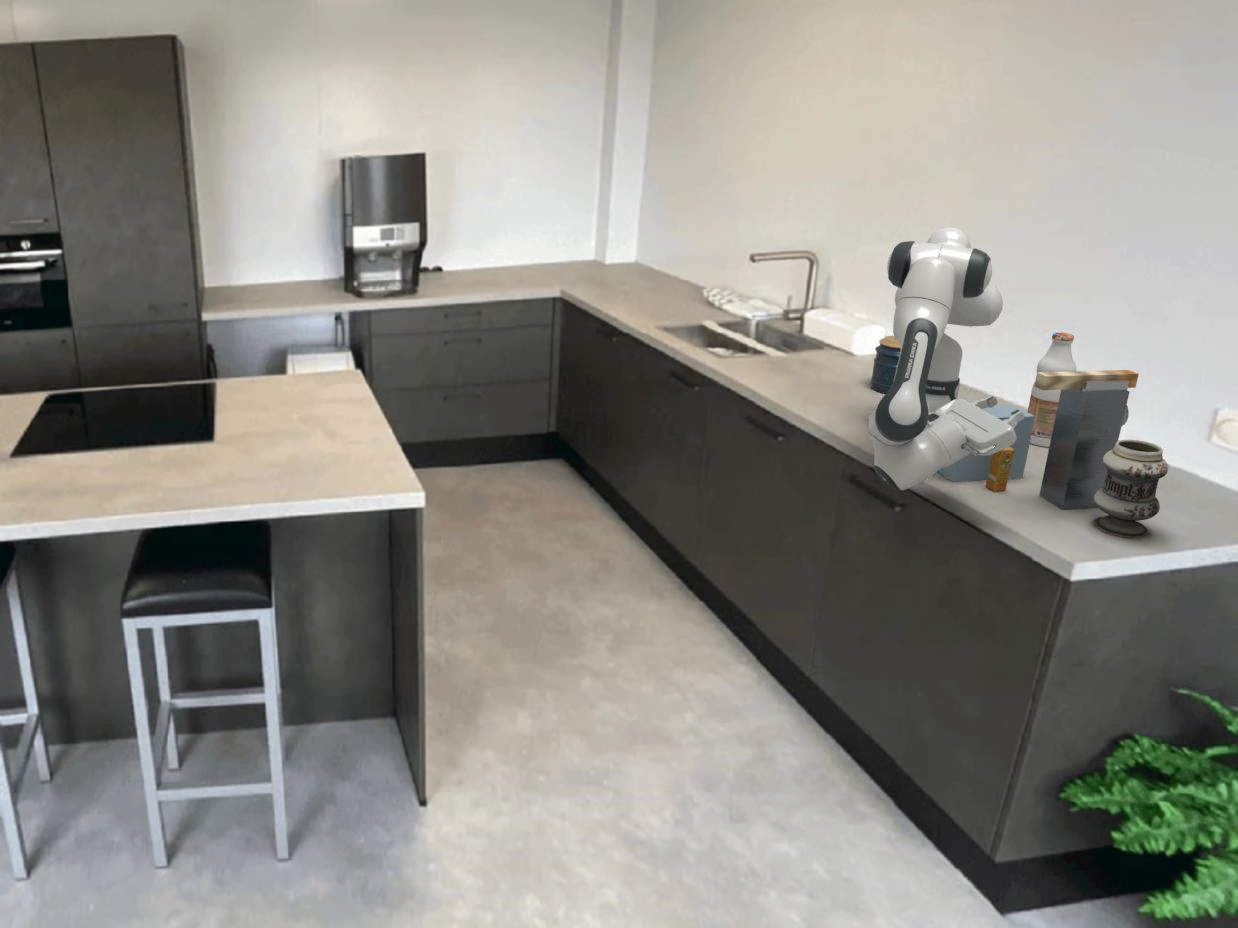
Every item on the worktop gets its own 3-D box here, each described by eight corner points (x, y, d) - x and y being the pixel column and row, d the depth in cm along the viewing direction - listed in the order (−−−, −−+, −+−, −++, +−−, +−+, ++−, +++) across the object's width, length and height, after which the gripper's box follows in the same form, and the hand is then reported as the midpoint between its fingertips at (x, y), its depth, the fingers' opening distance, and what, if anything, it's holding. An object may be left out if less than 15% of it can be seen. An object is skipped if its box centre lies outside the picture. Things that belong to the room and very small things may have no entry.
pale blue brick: (952, 481, 224) (963, 419, 218) (934, 469, 231) (944, 408, 225) (1022, 478, 227) (1035, 416, 222) (1002, 465, 235) (1014, 405, 229)
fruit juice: (1014, 437, 255) (1034, 330, 245) (1043, 434, 258) (1064, 329, 249) (1040, 449, 247) (1062, 339, 237) (1069, 446, 250) (1092, 338, 240)
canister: (907, 398, 284) (916, 338, 278) (864, 390, 291) (871, 331, 284) (920, 388, 295) (929, 330, 289) (877, 380, 301) (885, 324, 295)
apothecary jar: (1113, 512, 211) (1132, 432, 204) (1166, 534, 201) (1187, 451, 194) (1075, 521, 205) (1094, 439, 199) (1127, 544, 195) (1148, 459, 189)
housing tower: (1062, 509, 211) (1089, 383, 201) (1039, 495, 218) (1064, 372, 208) (1110, 506, 213) (1140, 382, 203) (1086, 492, 221) (1113, 371, 211)
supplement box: (994, 492, 219) (1002, 449, 215) (984, 486, 222) (992, 444, 218) (1007, 491, 219) (1015, 449, 216) (997, 485, 223) (1005, 443, 219)
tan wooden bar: (1043, 390, 202) (1046, 376, 201) (1034, 386, 204) (1037, 372, 203) (1135, 387, 207) (1138, 373, 206) (1125, 383, 209) (1128, 370, 208)
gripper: (973, 445, 192) (1034, 409, 192) (921, 412, 211) (976, 379, 211) (983, 470, 195) (1043, 435, 195) (930, 435, 213) (985, 403, 214)
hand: (1008, 406), depth 203 cm, fingers open, 8 cm apart
